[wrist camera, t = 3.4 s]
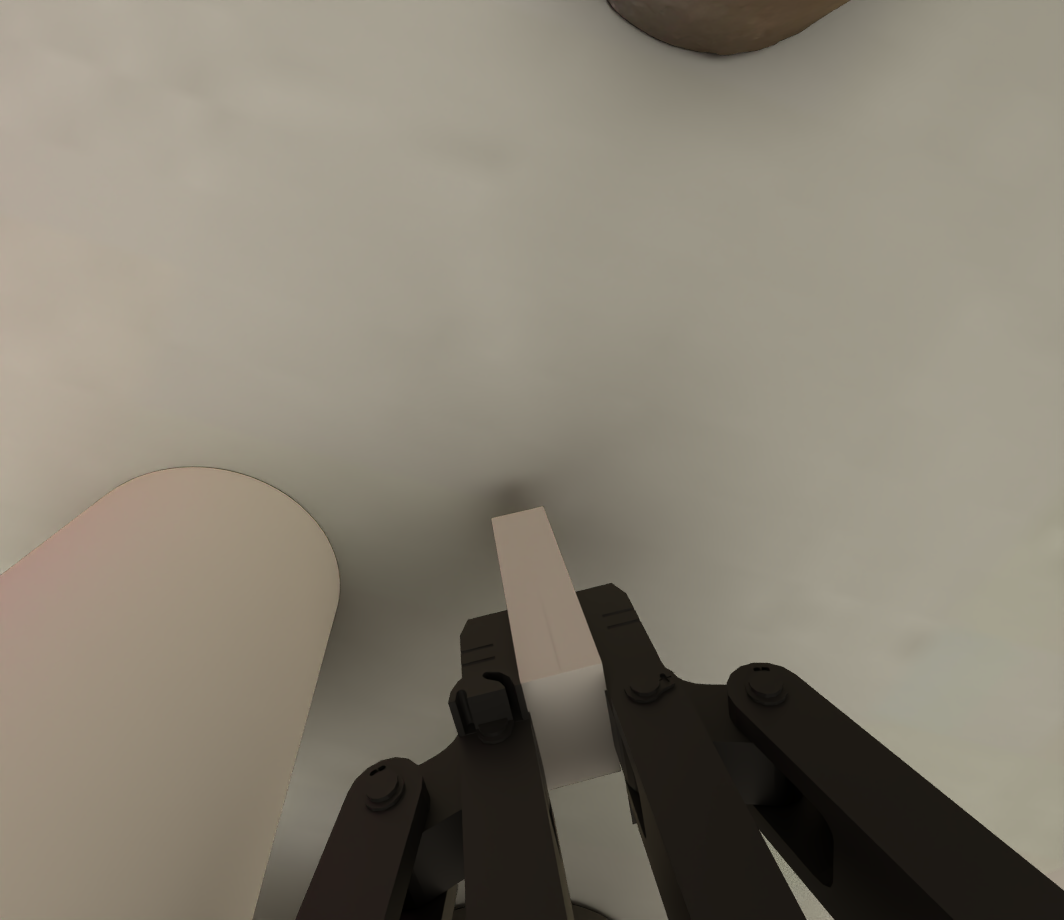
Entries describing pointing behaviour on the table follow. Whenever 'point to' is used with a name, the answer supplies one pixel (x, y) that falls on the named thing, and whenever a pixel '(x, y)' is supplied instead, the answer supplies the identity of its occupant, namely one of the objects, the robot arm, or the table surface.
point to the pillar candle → (723, 21)
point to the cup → (157, 698)
